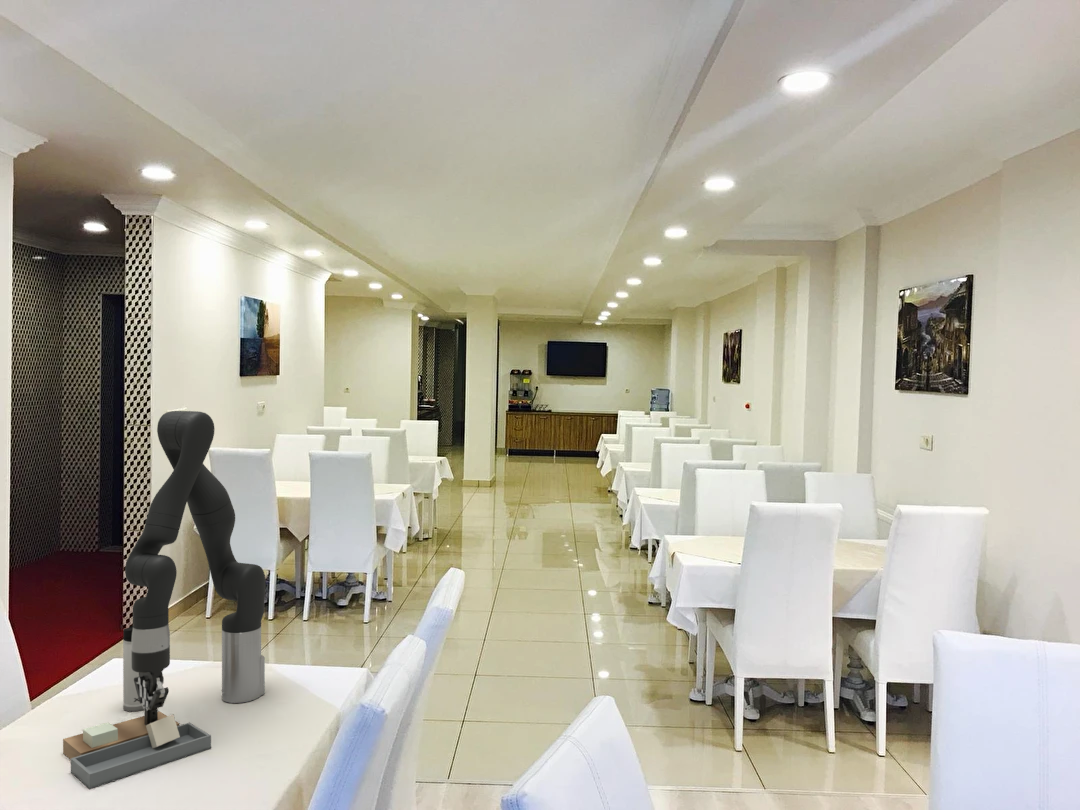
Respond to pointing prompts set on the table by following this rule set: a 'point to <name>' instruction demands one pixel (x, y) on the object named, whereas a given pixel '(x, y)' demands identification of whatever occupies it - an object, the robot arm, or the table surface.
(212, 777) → the table surface
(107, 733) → the tile
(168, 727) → the tile
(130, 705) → the travel mug
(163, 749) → the tray
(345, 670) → the table surface
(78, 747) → the walnut board
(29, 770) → the table surface
